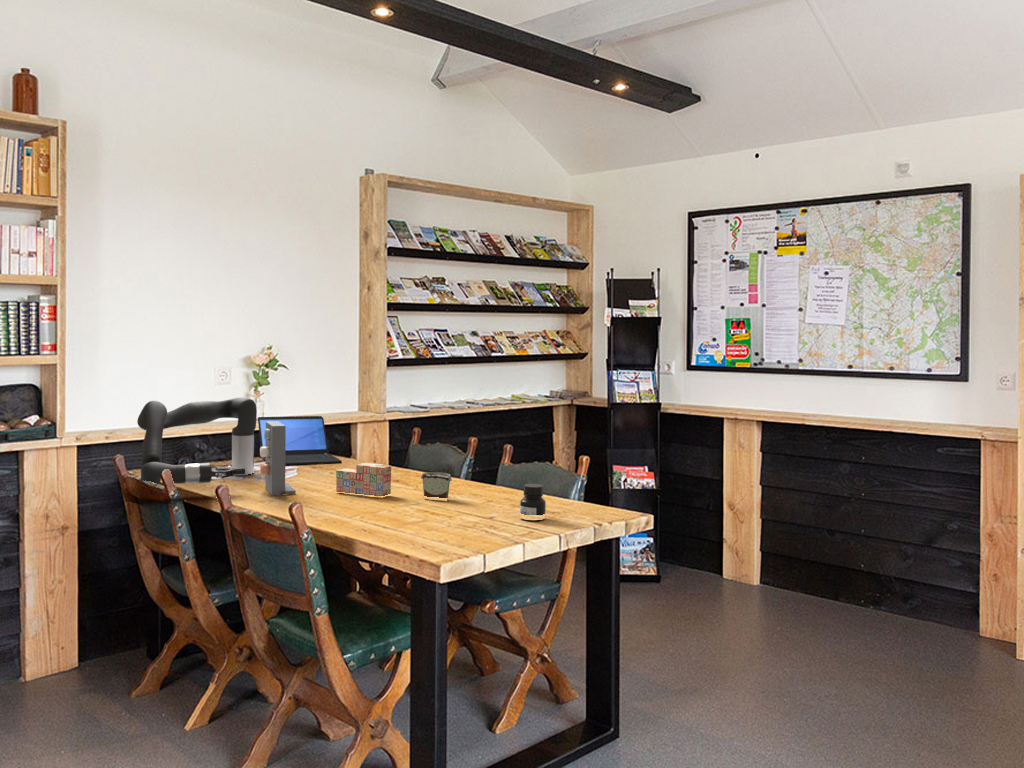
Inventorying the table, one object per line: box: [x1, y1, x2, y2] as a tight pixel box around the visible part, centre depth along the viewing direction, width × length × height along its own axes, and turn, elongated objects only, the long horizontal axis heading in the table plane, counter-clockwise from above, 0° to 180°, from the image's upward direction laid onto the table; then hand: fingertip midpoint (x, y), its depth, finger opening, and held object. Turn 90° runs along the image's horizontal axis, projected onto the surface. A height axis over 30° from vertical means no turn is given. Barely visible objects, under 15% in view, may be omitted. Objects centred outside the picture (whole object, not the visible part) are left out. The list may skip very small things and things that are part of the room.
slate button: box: [264, 429, 270, 439], centre depth 347 cm, size 4×4×4 cm
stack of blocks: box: [335, 462, 392, 496], centre depth 347 cm, size 21×6×12 cm, turn 68°
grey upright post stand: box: [264, 421, 297, 496], centre depth 349 cm, size 16×9×27 cm, turn 24°
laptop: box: [257, 415, 342, 466], centre depth 430 cm, size 33×38×19 cm
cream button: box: [259, 446, 270, 458], centre depth 347 cm, size 4×4×4 cm
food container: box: [420, 471, 453, 499], centre depth 342 cm, size 12×6×10 cm, turn 71°
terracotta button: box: [259, 463, 270, 476], centre depth 347 cm, size 4×4×4 cm
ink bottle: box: [519, 483, 547, 515], centre depth 311 cm, size 10×9×12 cm
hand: (244, 471), depth 343 cm, fingers closed
